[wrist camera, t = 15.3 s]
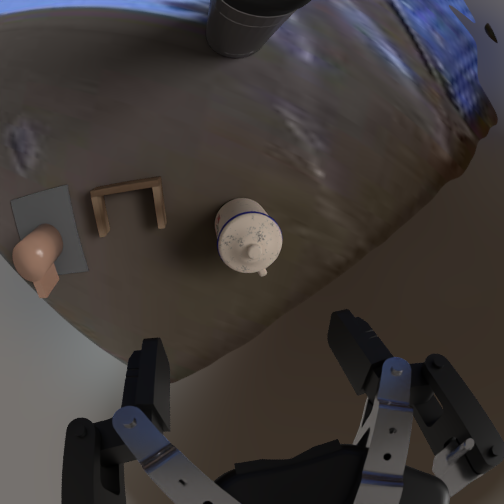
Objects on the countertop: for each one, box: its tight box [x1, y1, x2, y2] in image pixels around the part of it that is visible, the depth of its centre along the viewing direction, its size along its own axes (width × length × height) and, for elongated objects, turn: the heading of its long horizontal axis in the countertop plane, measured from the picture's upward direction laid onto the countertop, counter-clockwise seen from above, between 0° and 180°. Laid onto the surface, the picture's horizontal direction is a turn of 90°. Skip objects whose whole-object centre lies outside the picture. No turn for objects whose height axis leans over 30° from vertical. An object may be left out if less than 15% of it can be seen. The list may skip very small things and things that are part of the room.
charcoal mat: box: [11, 185, 88, 275], centre depth 38 cm, size 16×14×1 cm
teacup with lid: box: [215, 198, 282, 276], centre depth 40 cm, size 12×9×12 cm
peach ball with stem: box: [13, 224, 63, 298], centre depth 35 cm, size 10×7×8 cm, turn 1°
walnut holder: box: [90, 176, 167, 237], centre depth 38 cm, size 8×11×3 cm
